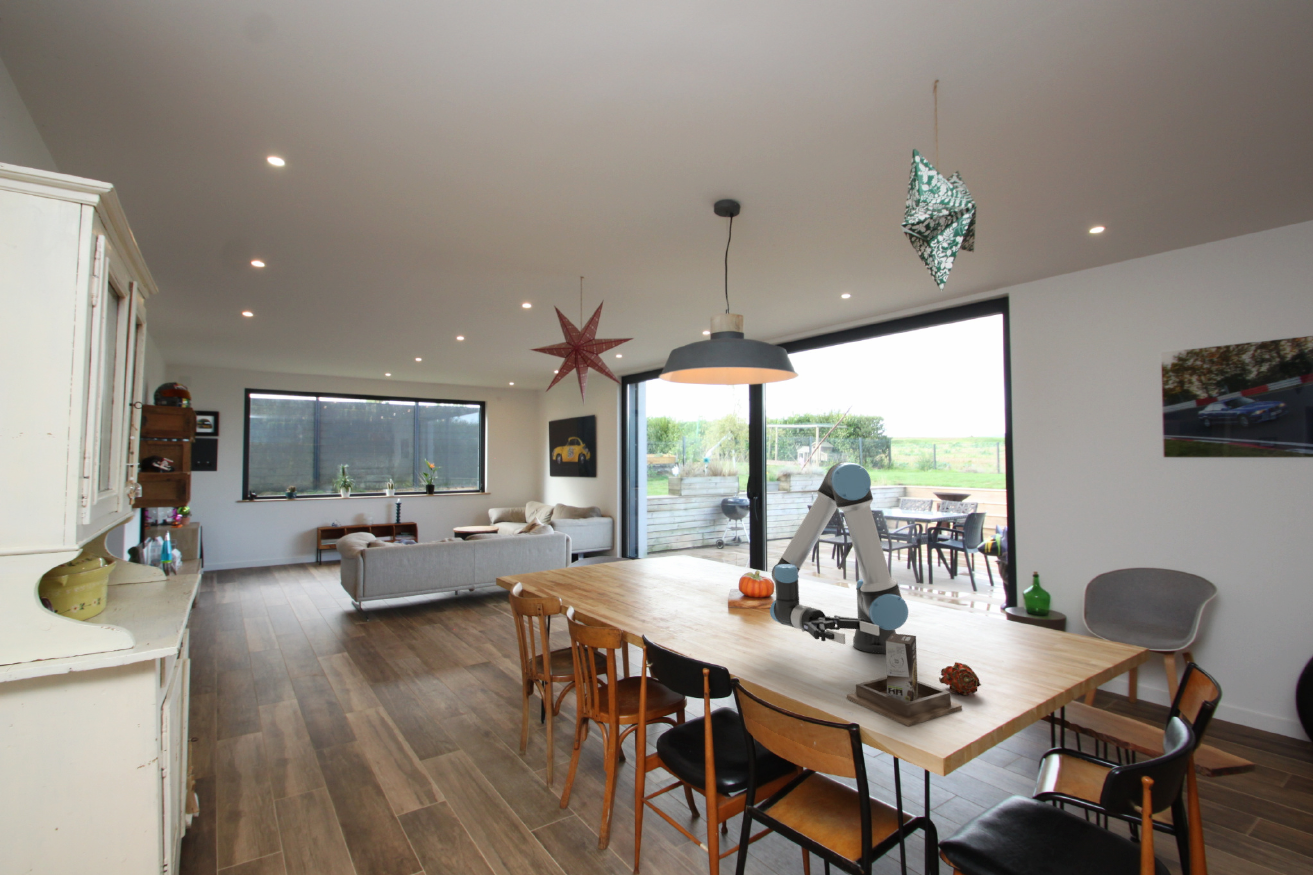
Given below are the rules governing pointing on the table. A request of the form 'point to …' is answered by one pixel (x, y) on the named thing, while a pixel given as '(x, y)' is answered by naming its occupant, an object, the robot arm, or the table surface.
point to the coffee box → (902, 667)
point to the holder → (910, 713)
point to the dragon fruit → (960, 678)
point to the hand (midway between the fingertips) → (861, 634)
